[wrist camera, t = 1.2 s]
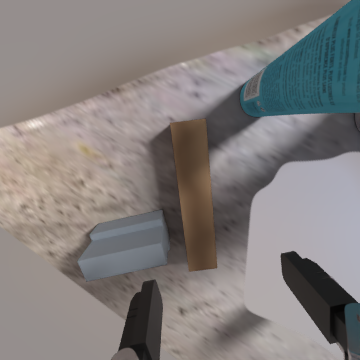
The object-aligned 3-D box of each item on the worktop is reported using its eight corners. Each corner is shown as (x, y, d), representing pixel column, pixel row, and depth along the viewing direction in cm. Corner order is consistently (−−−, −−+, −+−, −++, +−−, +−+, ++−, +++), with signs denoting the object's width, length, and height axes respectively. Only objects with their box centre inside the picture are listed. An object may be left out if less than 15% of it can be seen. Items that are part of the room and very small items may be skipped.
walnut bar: (200, 120, 25) (205, 118, 20) (210, 248, 30) (217, 268, 26) (170, 124, 25) (169, 123, 20) (186, 251, 30) (188, 271, 26)
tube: (279, 120, 25) (593, 94, 6) (244, 130, 25) (447, 132, 6) (272, 59, 23) (702, -244, 4) (234, 70, 23) (487, -176, 4)
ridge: (162, 209, 28) (158, 235, 21) (170, 237, 29) (169, 271, 22) (98, 223, 28) (73, 254, 21) (108, 251, 29) (89, 288, 22)
